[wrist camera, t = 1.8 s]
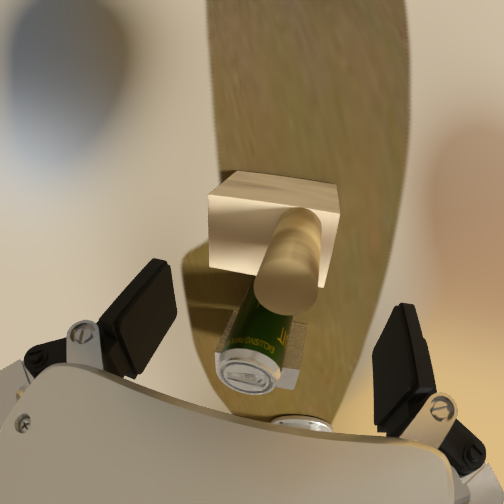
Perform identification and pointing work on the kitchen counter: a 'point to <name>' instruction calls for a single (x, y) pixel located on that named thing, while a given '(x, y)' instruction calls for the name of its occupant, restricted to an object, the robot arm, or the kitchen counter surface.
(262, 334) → the beer can
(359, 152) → the kitchen counter surface
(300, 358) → the grey box
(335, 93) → the kitchen counter surface
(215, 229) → the wooden block with peg
